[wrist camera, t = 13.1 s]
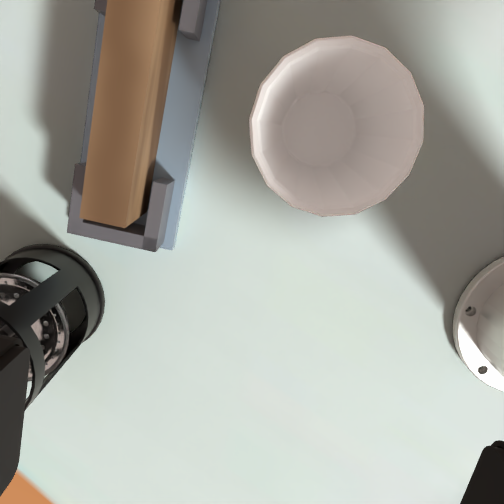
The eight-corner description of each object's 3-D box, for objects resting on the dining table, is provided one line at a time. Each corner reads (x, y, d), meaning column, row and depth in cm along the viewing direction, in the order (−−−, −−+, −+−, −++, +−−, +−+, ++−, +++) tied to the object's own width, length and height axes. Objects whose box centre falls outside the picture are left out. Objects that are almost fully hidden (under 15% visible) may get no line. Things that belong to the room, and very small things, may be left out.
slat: (184, -12, 32) (167, -44, 26) (147, 212, 36) (124, 228, 30) (141, -23, 32) (114, -57, 26) (108, 203, 36) (79, 218, 30)
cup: (338, 218, 37) (362, 247, 28) (228, 155, 36) (217, 164, 27) (410, 103, 34) (462, 95, 25) (295, 32, 33) (307, -4, 24)
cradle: (227, -37, 32) (222, -60, 28) (174, 247, 38) (164, 260, 34) (114, -65, 32) (93, -92, 28) (77, 225, 37) (55, 236, 33)
